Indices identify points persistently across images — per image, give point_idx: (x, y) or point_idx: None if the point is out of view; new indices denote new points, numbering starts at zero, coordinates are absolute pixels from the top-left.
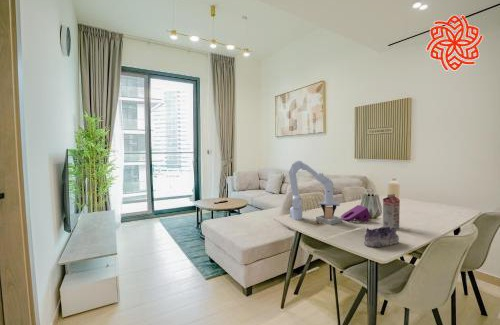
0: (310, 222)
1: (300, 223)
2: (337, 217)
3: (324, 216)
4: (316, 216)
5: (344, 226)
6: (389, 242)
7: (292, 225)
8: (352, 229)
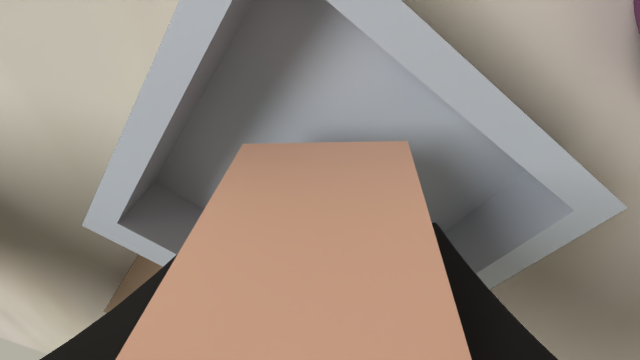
0: (116, 296)
1: (27, 288)
2: (526, 169)
3: (207, 67)
4: (87, 222)
5: (546, 280)
6: None
7: (12, 341)
8: (611, 340)
